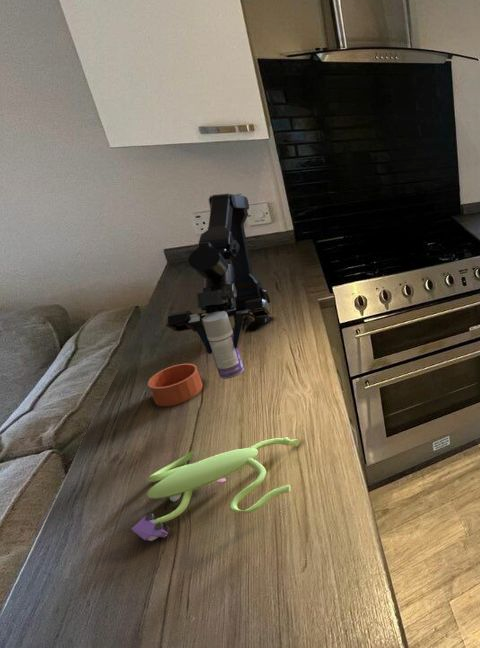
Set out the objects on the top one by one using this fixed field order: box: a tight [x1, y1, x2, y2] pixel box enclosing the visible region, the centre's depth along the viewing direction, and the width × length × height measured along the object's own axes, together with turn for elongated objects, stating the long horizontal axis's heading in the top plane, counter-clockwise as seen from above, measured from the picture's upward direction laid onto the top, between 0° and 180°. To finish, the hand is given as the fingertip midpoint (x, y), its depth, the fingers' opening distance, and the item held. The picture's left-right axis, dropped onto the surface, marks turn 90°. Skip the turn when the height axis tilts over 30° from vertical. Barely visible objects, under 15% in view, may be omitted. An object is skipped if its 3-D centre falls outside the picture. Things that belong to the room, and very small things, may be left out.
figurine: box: [131, 436, 301, 542], centre depth 78 cm, size 18×27×6 cm
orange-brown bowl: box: [147, 363, 204, 407], centre depth 103 cm, size 9×9×5 cm
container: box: [202, 311, 245, 380], centre depth 98 cm, size 5×5×15 cm
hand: (223, 350), depth 97 cm, fingers closed on container, 4 cm apart
